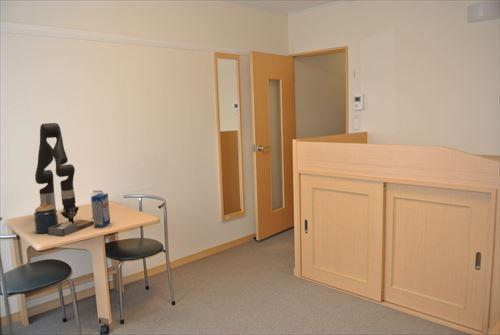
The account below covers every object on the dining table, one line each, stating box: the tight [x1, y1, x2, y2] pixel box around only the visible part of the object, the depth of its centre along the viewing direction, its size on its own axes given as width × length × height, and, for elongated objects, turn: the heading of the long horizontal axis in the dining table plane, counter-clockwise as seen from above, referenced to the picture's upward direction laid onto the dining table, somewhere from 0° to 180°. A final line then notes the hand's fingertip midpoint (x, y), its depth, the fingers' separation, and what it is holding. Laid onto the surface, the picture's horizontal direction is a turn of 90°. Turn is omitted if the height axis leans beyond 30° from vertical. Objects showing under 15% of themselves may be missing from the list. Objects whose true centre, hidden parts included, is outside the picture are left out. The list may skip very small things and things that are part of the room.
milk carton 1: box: [90, 189, 104, 219], centre depth 275 cm, size 7×7×19 cm
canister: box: [33, 203, 59, 234], centre depth 247 cm, size 13×13×18 cm
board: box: [73, 219, 94, 232], centre depth 254 cm, size 12×14×2 cm
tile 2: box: [60, 221, 73, 227], centre depth 245 cm, size 5×5×3 cm
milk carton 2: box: [91, 192, 111, 229], centre depth 254 cm, size 10×6×20 cm, turn 178°
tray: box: [47, 222, 78, 237], centre depth 242 cm, size 12×11×4 cm
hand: (71, 223), depth 248 cm, fingers closed
